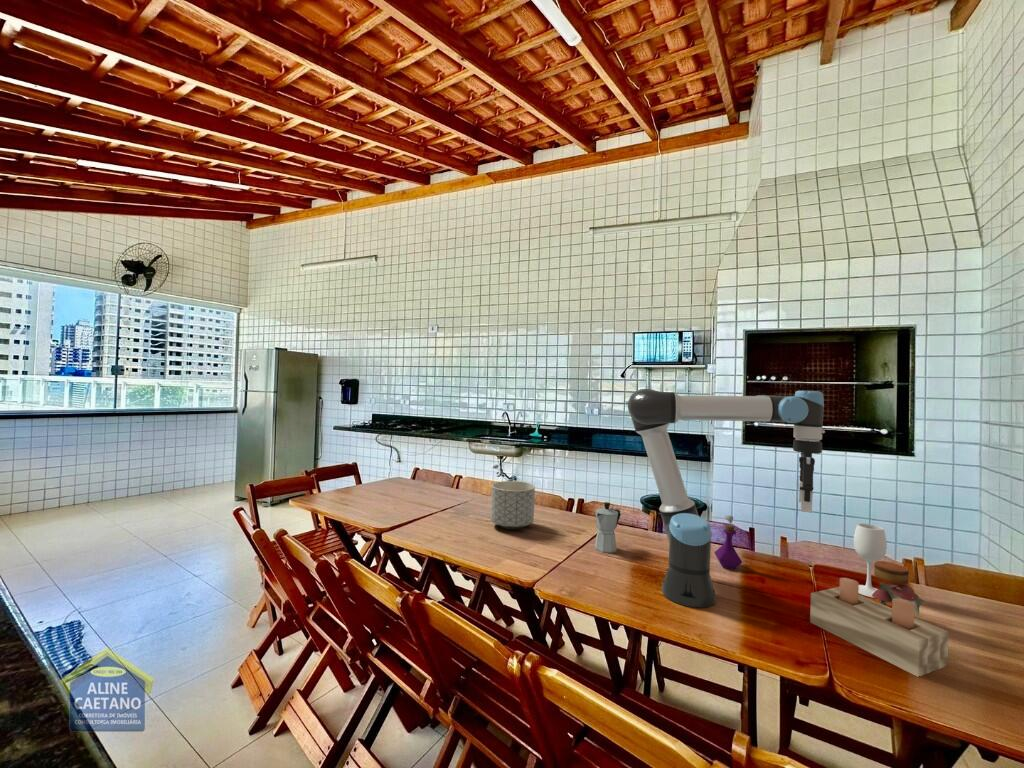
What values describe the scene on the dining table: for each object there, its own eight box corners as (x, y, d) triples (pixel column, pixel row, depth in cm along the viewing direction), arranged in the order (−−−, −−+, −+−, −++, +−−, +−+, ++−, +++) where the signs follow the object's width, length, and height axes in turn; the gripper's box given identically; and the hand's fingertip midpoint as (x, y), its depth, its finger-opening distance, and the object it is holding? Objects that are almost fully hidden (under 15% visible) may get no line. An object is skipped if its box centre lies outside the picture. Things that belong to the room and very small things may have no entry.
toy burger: (908, 636, 115) (909, 579, 115) (854, 612, 126) (856, 560, 126) (932, 627, 119) (933, 572, 119) (878, 605, 131) (879, 555, 131)
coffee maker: (604, 556, 163) (606, 507, 163) (586, 549, 170) (587, 502, 170) (628, 547, 173) (629, 501, 173) (609, 541, 179) (610, 497, 179)
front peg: (907, 637, 103) (908, 607, 103) (887, 628, 107) (888, 599, 107) (917, 634, 105) (918, 604, 105) (897, 625, 108) (898, 597, 108)
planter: (507, 517, 207) (508, 479, 207) (541, 526, 196) (542, 485, 196) (481, 527, 192) (483, 485, 192) (517, 537, 180) (518, 493, 180)
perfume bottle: (742, 571, 153) (743, 519, 153) (719, 569, 154) (720, 518, 154) (735, 563, 160) (737, 513, 160) (713, 560, 162) (715, 512, 162)
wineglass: (878, 601, 134) (880, 532, 134) (845, 589, 142) (847, 524, 142) (891, 595, 138) (893, 528, 138) (859, 584, 146) (861, 521, 146)
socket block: (918, 677, 98) (919, 641, 98) (810, 622, 120) (810, 593, 120) (947, 665, 103) (948, 631, 103) (838, 614, 125) (839, 586, 125)
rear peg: (851, 612, 114) (852, 585, 114) (835, 604, 118) (836, 578, 118) (861, 609, 116) (862, 583, 116) (845, 602, 120) (845, 576, 120)
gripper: (826, 444, 125) (823, 518, 125) (818, 437, 147) (816, 500, 147) (795, 442, 129) (792, 513, 129) (792, 435, 151) (789, 497, 151)
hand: (805, 507), depth 138 cm, fingers open, 13 cm apart
